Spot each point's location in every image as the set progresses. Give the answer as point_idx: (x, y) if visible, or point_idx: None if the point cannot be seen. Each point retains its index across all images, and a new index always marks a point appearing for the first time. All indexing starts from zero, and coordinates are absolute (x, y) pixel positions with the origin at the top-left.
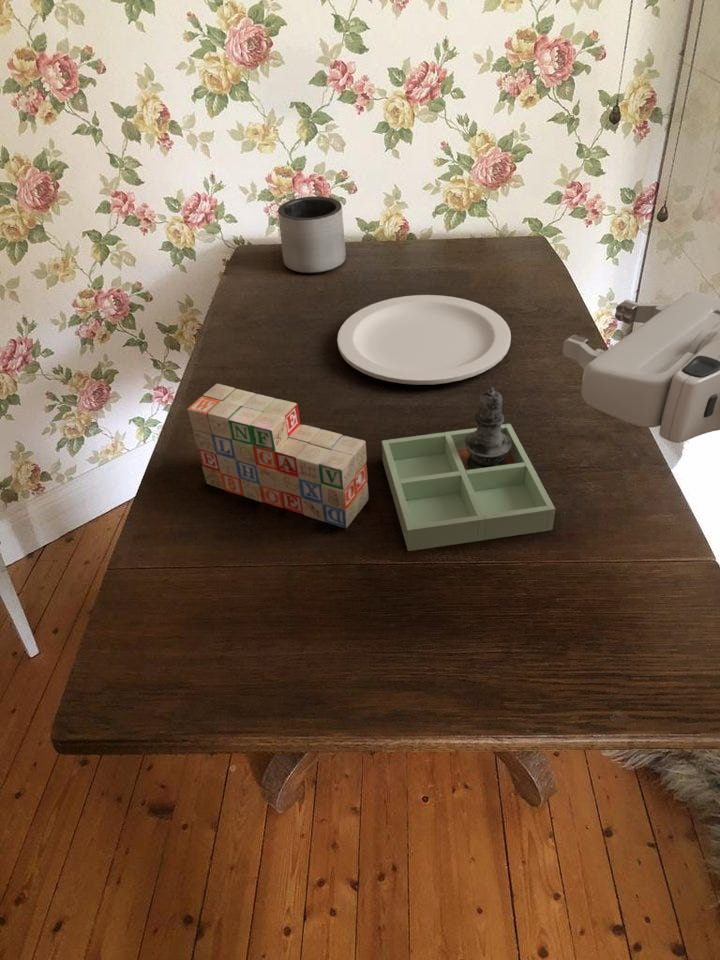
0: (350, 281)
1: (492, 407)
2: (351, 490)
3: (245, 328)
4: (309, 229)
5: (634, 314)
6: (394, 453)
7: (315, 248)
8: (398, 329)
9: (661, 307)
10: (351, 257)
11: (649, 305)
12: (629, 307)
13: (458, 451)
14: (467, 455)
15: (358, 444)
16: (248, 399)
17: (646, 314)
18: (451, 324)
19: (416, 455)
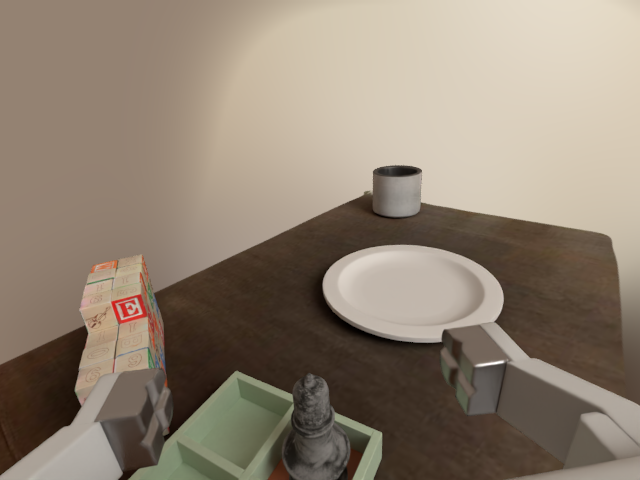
0: (405, 228)
1: (299, 406)
2: None
3: (302, 237)
4: (386, 183)
5: (496, 389)
6: (244, 392)
7: (388, 198)
8: (399, 271)
9: (622, 429)
10: (424, 214)
11: (562, 386)
12: (470, 355)
13: None
14: None
15: (138, 367)
16: (127, 274)
17: (546, 416)
18: (450, 282)
19: (266, 407)
